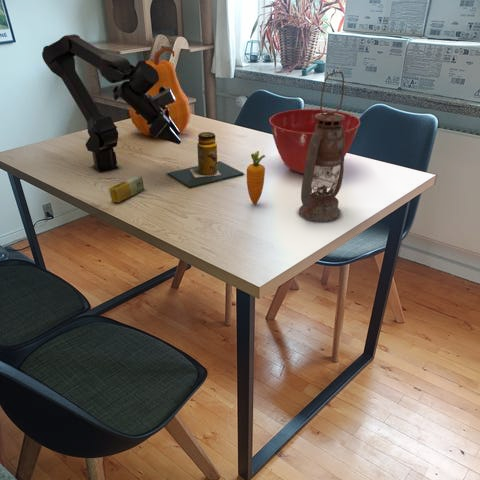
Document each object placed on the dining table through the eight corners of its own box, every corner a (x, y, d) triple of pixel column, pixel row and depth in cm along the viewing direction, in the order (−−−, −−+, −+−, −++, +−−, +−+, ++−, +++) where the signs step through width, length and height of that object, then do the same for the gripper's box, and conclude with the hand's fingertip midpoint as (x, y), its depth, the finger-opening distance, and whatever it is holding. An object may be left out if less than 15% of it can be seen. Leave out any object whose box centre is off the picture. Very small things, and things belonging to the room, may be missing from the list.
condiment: (221, 175, 155) (220, 136, 148) (195, 178, 153) (193, 138, 146) (214, 167, 161) (213, 129, 154) (189, 170, 159) (187, 132, 151)
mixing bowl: (259, 179, 154) (261, 128, 145) (275, 151, 177) (278, 105, 167) (350, 187, 149) (358, 135, 140) (355, 157, 171) (362, 111, 162)
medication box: (137, 188, 148) (135, 175, 145) (144, 189, 146) (142, 176, 144) (111, 201, 139) (108, 188, 137) (118, 202, 138) (115, 188, 135)
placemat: (189, 188, 148) (189, 186, 148) (167, 174, 157) (167, 172, 157) (243, 174, 157) (243, 173, 157) (219, 162, 166) (219, 161, 166)
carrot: (253, 199, 141) (254, 147, 132) (267, 204, 139) (269, 150, 130) (242, 205, 138) (243, 151, 129) (256, 209, 136) (257, 155, 127)
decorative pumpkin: (192, 124, 204) (188, 42, 186) (191, 141, 185) (186, 51, 167) (135, 125, 203) (125, 42, 185) (128, 142, 184) (116, 52, 166)
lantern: (284, 216, 132) (294, 73, 111) (321, 199, 142) (336, 64, 121) (317, 229, 126) (333, 80, 105) (353, 210, 135) (374, 70, 115)
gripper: (157, 85, 132) (199, 127, 140) (156, 72, 146) (195, 110, 154) (130, 117, 135) (173, 156, 143) (133, 101, 150) (172, 136, 158)
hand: (179, 138), depth 150 cm, fingers open, 9 cm apart
